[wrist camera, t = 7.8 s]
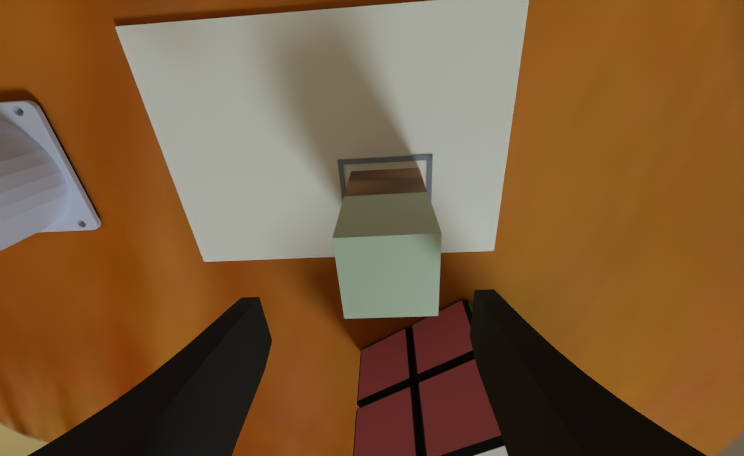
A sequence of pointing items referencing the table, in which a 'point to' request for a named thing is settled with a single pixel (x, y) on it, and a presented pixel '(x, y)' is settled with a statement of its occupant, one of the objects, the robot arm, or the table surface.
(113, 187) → the table surface
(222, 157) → the board
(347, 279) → the sage block
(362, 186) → the walnut block
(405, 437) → the puzzle cube
